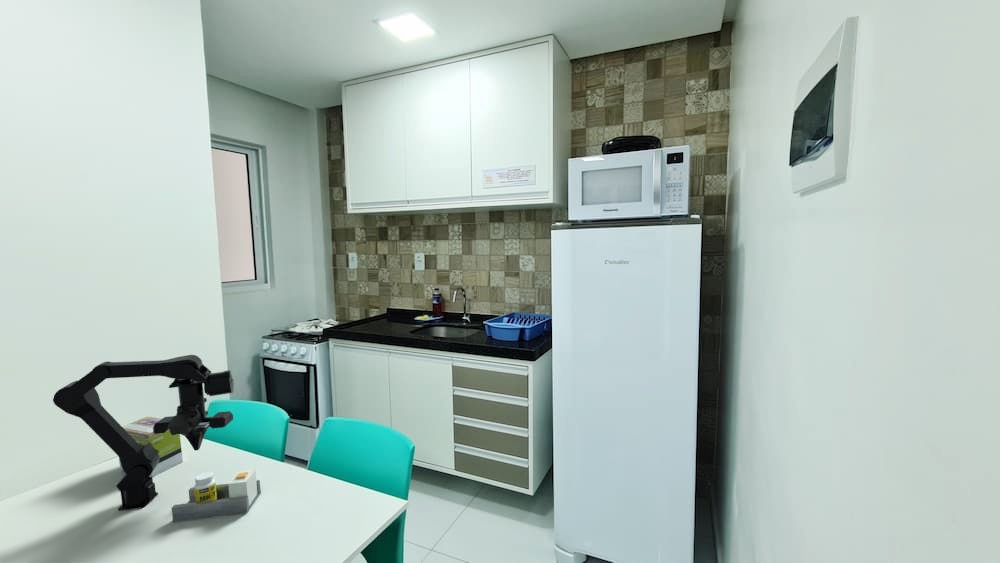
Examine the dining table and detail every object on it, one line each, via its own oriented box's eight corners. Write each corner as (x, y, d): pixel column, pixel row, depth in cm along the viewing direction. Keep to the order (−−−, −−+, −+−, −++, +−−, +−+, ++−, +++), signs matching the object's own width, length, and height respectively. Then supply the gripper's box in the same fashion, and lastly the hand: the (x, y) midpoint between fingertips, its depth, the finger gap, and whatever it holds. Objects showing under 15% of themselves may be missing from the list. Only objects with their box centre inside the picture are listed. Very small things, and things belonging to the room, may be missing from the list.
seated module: (230, 508, 111) (227, 481, 110) (240, 494, 117) (238, 469, 116) (248, 505, 112) (246, 479, 111) (257, 492, 118) (255, 467, 117)
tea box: (118, 472, 133) (113, 428, 132) (152, 456, 143) (148, 415, 141) (151, 478, 129) (146, 433, 127) (184, 462, 138) (179, 419, 137)
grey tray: (173, 522, 108) (171, 507, 107) (192, 501, 116) (191, 487, 116) (247, 512, 111) (246, 498, 110) (260, 492, 119) (259, 479, 119)
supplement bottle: (199, 512, 110) (196, 482, 109) (193, 506, 113) (190, 477, 112) (220, 503, 113) (217, 474, 113) (213, 497, 116) (211, 469, 115)
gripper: (136, 413, 111) (143, 468, 112) (212, 406, 114) (218, 460, 115) (162, 397, 121) (168, 448, 123) (231, 392, 125) (236, 441, 126)
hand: (197, 449), depth 122 cm, fingers closed
